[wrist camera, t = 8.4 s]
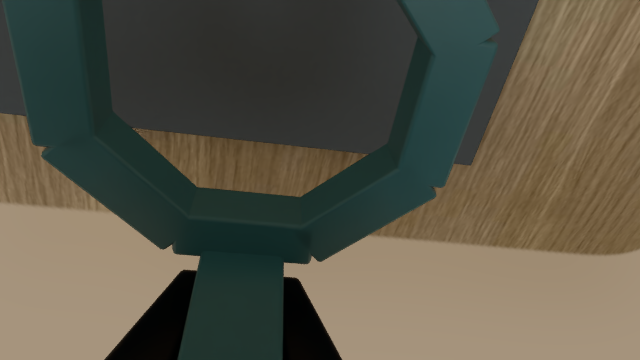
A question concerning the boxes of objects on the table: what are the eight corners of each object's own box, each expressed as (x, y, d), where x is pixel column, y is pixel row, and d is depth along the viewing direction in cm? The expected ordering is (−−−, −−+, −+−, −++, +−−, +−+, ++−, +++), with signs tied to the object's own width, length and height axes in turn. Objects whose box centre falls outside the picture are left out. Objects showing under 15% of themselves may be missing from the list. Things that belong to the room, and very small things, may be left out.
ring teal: (-6, -245, 5) (-456, -416, 2) (532, -130, 6) (792, -127, 3) (84, 281, 10) (-10, 473, 7) (381, 301, 11) (420, 478, 8)
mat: (563, -84, 14) (573, -82, 14) (466, 158, 19) (471, 165, 19) (-70, -211, 12) (-85, -215, 11) (5, 106, 17) (-3, 113, 16)
